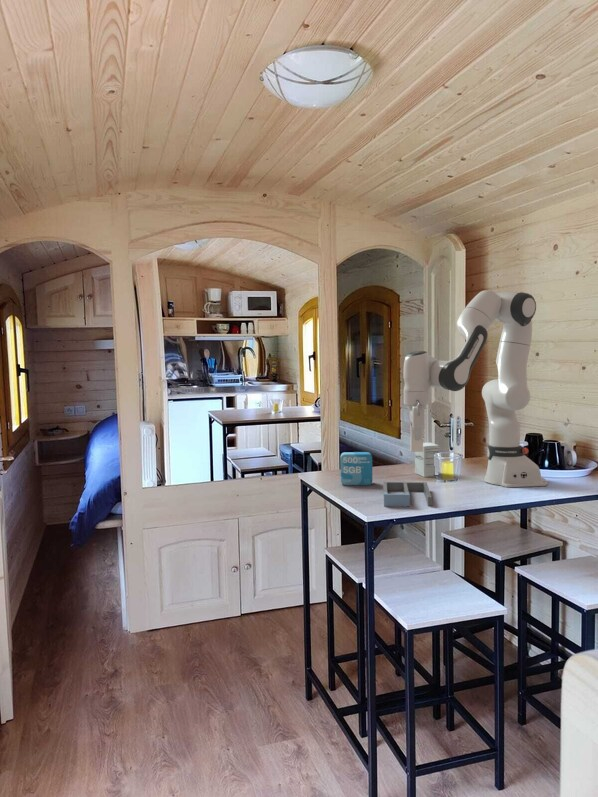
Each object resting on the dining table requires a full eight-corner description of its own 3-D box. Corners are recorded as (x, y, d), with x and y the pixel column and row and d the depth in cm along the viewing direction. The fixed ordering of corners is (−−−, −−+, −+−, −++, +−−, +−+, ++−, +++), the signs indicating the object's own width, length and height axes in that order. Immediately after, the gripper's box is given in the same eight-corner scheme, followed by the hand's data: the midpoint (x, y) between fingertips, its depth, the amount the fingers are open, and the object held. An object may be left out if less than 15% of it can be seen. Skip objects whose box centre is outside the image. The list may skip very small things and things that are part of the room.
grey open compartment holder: (426, 490, 221) (426, 479, 220) (432, 507, 199) (432, 495, 198) (383, 489, 223) (383, 479, 222) (384, 506, 201) (384, 494, 200)
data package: (341, 485, 231) (340, 454, 230) (340, 482, 235) (340, 452, 234) (372, 485, 230) (372, 454, 229) (371, 482, 235) (371, 451, 234)
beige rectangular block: (422, 449, 210) (422, 421, 209) (423, 451, 206) (423, 422, 205) (410, 449, 211) (410, 421, 210) (411, 451, 207) (411, 422, 206)
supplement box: (414, 473, 248) (414, 443, 247) (430, 472, 251) (430, 442, 249) (423, 477, 241) (423, 446, 240) (439, 475, 244) (439, 444, 242)
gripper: (428, 402, 196) (428, 444, 198) (423, 396, 216) (424, 434, 218) (408, 402, 197) (409, 444, 198) (405, 396, 217) (406, 434, 219)
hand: (416, 438), depth 208 cm, fingers closed on beige rectangular block, 4 cm apart
